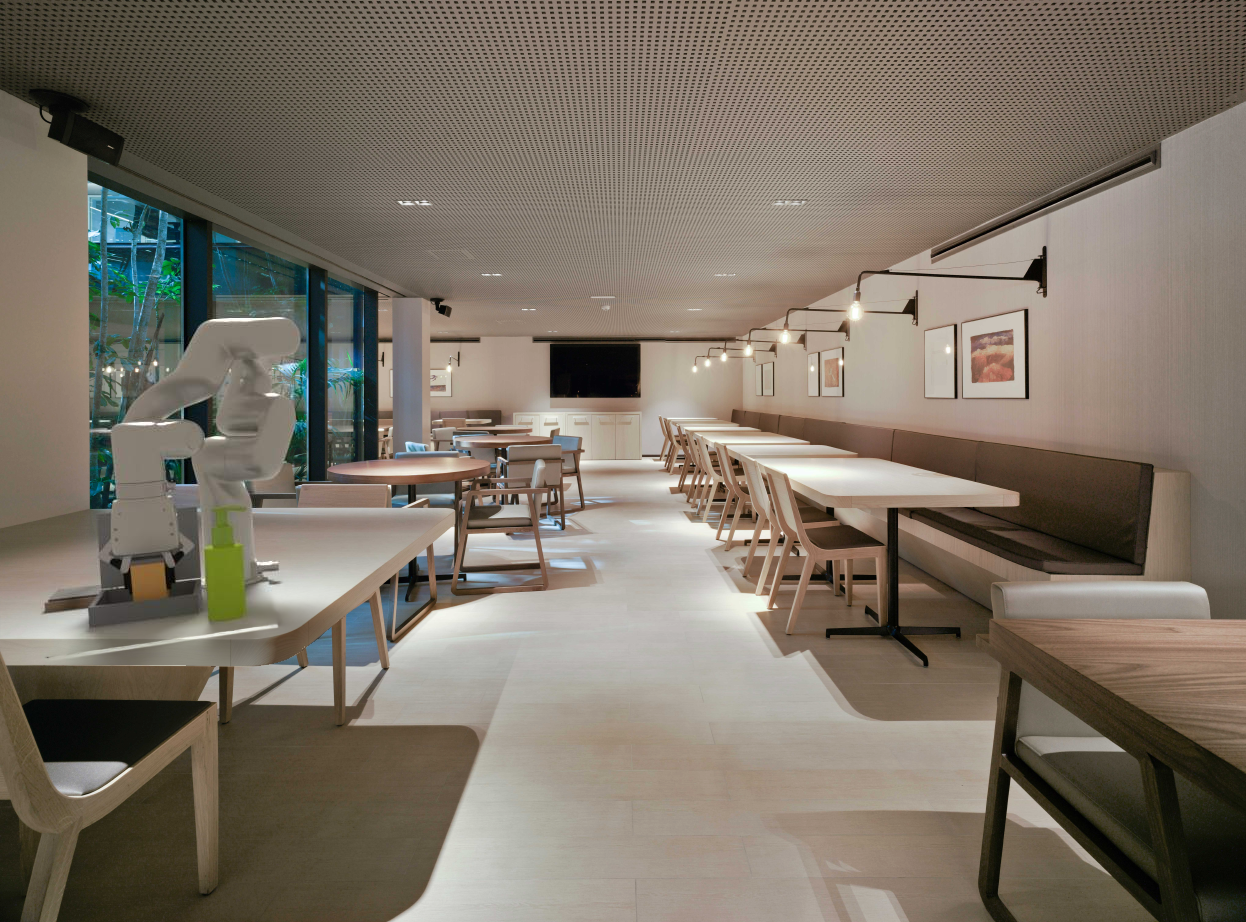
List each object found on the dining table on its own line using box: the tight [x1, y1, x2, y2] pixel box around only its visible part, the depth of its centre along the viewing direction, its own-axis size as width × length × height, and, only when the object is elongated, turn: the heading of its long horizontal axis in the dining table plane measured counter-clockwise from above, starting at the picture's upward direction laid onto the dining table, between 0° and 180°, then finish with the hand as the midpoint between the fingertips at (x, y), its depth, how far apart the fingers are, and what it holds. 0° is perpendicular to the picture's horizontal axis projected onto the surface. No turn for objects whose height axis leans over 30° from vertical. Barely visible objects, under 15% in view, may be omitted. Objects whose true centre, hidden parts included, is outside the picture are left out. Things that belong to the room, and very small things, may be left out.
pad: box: [44, 584, 119, 613], centre depth 138 cm, size 10×10×3 cm
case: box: [87, 578, 203, 629], centre depth 130 cm, size 16×14×4 cm
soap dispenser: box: [204, 506, 247, 622], centre depth 125 cm, size 6×7×20 cm
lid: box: [96, 506, 202, 589], centre depth 137 cm, size 16×14×1 cm
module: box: [130, 553, 169, 601], centre depth 129 cm, size 5×5×8 cm
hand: (151, 589), depth 129 cm, fingers closed on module, 5 cm apart
